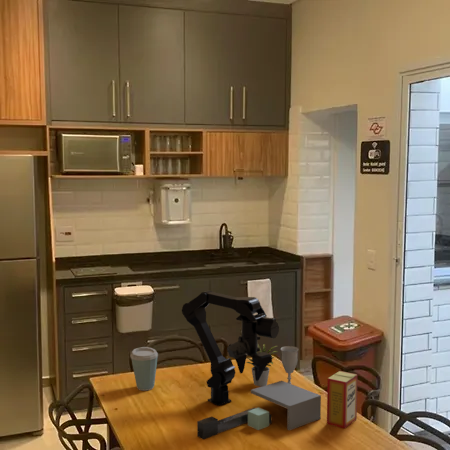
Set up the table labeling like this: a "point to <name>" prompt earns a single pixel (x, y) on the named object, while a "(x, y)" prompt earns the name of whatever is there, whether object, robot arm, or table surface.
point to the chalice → (289, 359)
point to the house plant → (264, 376)
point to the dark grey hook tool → (222, 424)
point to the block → (258, 418)
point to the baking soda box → (342, 399)
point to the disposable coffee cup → (144, 367)
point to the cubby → (292, 402)
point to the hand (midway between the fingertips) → (249, 376)
